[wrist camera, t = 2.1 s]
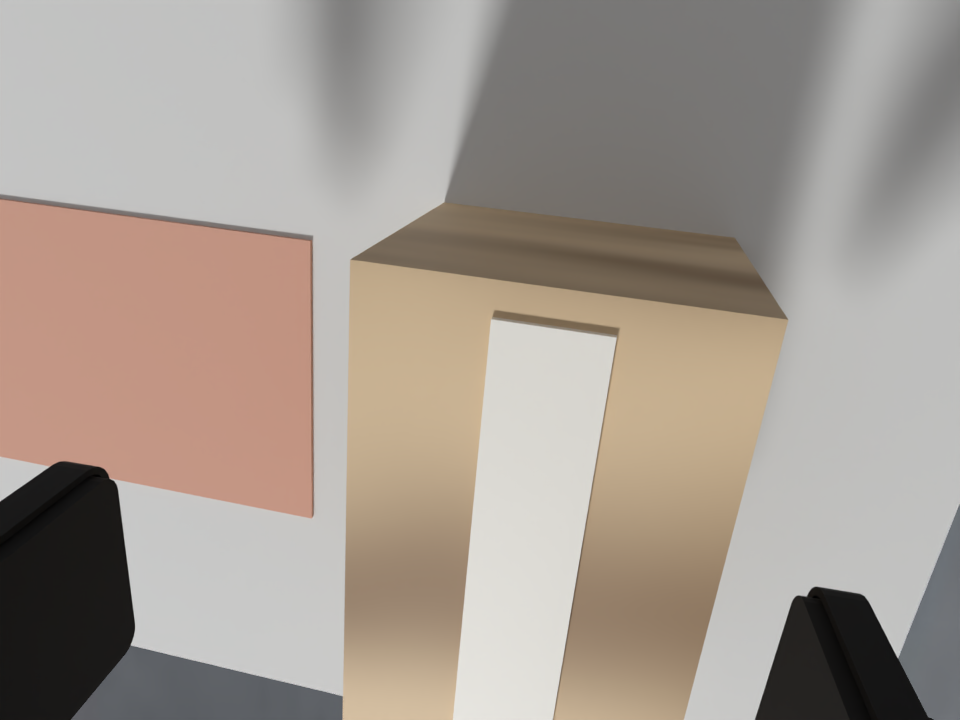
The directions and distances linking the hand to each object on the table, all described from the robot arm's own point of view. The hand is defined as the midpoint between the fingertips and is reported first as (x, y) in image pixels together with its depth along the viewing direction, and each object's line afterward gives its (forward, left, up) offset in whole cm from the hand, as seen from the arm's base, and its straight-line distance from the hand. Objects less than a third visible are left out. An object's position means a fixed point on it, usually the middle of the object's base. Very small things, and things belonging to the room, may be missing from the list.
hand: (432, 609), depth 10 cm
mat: (+4, 0, -7) cm, 8 cm away
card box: (-1, 0, -6) cm, 6 cm away
